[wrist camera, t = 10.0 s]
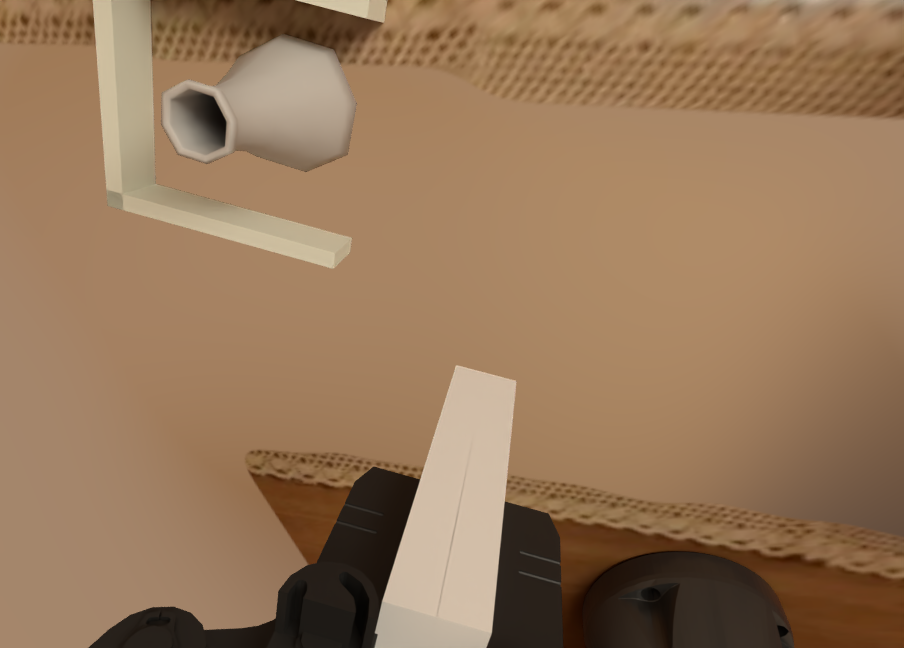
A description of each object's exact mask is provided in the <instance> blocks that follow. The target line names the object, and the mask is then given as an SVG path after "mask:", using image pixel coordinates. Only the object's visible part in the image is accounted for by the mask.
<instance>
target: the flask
mask: <svg viewBox="0 0 904 648" xmlns="http://www.w3.org/2000/svg"><path fill="white" fill-rule="evenodd" d="M356 104H357V103H356V101H355V99H354V96H353V94H352V91H351V89H350V87H349V84H348V82H347V80H346V77H345V74H344V72H343V70H342V67H341V65H340V63H339V60H338V58H337V55H336V53H335V51H334V49H331V48H328V47H324V46H321V45H318V44H315V43H312V42H308V41H305V40H302V39H299V38H295V37H292V36H289V35H286V34H282V35H280V36H278V37H276V38H274V39H272V40H270V41H268V42H266V43H264V44H262V45H260V46H258V47H256V48H254V49H252V50H250V51H248V52H246V53H244V54H242V55H241V56H239V58H238V59H237V60H236V61H235V63H234V64H233V65H232V67H231V68H230V70H229V71H228V73H227V74H226V75H225V76H224V77H223V78H222V79H221V80H220V82H218V84H217V85H216V86H209V85H206V84H202V83H199V82H196V81H193V80H185V81H183V82H181V83H179V84H178V85H176V86H174V87H172V88H170V89H168V90H166V91H164V92H162V105H161V106H162V107H161V108H162V109H161V125H162V127H163V129H164V131H165V133H166V134H167V136H168V138H169V140H170V142H171V143H172V145H173V147H174V149H175V151H176V152H177V154H178V155H180V156H183V157H186V158H190V159H193V160H196V161H199V162H203V163H206V164H208V163H211V162H214V161H216V160H218V159H220V158H222V157H225V156H227V155H229V154H231V153H234V152H235V151H247V152H249V153H251V154H253V155H255V156H257V157H260V158H263V159H266V160H270V161H273V162H276V163H279V164H282V165H285V166H289V167H292V168H295V169H298V170H301V171H305V172H307V171H309V170H312V169H314V168H317V167H319V166H322V165H324V164H326V163H329V162H331V161H334V160H336V159H338V158H341V157H343V156H346V155H348V149H349V144H350V139H351V133H352V127H353V121H354V116H355V110H356Z"/></svg>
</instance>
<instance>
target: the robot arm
mask: <svg viewBox="0 0 904 648" xmlns="http://www.w3.org/2000/svg"><path fill="white" fill-rule="evenodd" d="M515 390H516V381H514V380H511V379H507V378H503V377H499V376H496V375H492V374H488V373H484V372H480V371H477V370H473V369H469V368H465V367H462V366H458V365H456V368H455V371H454V374H453V377H452V380H451V384H450V387H449V390H448V393H447V396H446V400H445V403H444V406H443V409H442V413H441V416H440V419H439V422H438V425H437V428H436V431H435V435H434V438H433V441H432V444H431V447H430V451H429V454H428V457H427V460H426V463H425V466H424V470H423V473H422V476H421V479H416V478H413V477H409V476H405V475H402V474H398V473H395V472H391V471H387V470H384V469H380V468H377V467H373V468H371V469H370V470H369V471H368V472H366V473H365V474H364V475H363V476H361V477H360V478H359V479H358V480H356V481H355V483H354V485H353V487H352V489H351V491H350V494H349V496H348V498H347V500H346V502H345V505H344V506H343V508H342V510H341V512H340V515H339V517H338V519H337V522H336V524H335V525H334V527H333V529H332V531H331V534H330V536H329V538H328V540H327V542H326V544H325V546H324V548H323V550H322V553H321V555H320V557H319V559H318V561H317V563H315V564H311V565H307V566H305V567H304V568H302V569H300V570H299V571H297V572H296V573H294V574H292V575H291V576H290V577H289V578H288V579H287V581H286V582H285V583H284V585H283V586H282V587H281V588H280V590H279V592H278V603H277V612H276V619H274V620H272V621H270V622H267V623H265V624H262V625H259V626H254V627H248V628H239V629H216V630H204V629H203V625H202V624H201V623H200V622H199V621H198V620H197V619H196V618H195V617H194V616H193V615H192V614H191V613H190V612H187V611H184V610H181V609H178V608H176V607H153V608H149V609H146V610H143V611H141V612H138V613H135V614H132V615H130V616H128V617H127V618H125V619H124V620H122V621H121V622H119V623H118V624H116V625H115V626H113V627H112V628H110V629H109V630H108V631H107V632H106V633H104V634H103V635H102V636H101V637H100V638H99V639H98V640H97V641H96V642H94V643H93V644H92V645H91V646H90V647H89V648H563V626H562V593H561V587H560V584H561V566H560V561H561V560H560V537H559V535H558V532H557V530H556V528H555V526H554V524H553V522H552V520H551V518H550V515H549V514H548V513H544V512H541V511H537V510H533V509H530V508H526V507H523V506H519V505H515V504H512V503H508V502H505V492H506V482H507V472H508V461H509V450H510V441H511V431H512V421H513V410H514V400H515ZM582 618H583V632H584V641H585V646H586V648H794V640H793V635H792V631H791V627H790V624H789V622H788V620H787V617H786V615H785V613H784V610H783V608H782V606H781V603H780V601H779V599H778V597H777V595H776V594H775V592H774V591H773V589H772V588H771V587H770V586H769V585H768V584H767V583H766V582H765V581H764V580H763V579H762V578H761V577H760V576H758V575H757V574H755V573H754V572H752V571H751V570H749V569H747V568H746V567H744V566H742V565H739V564H737V563H735V562H732V561H730V560H727V559H724V558H720V557H717V556H712V555H708V554H701V553H693V552H664V553H656V554H650V555H646V556H641V557H638V558H635V559H632V560H629V561H626V562H624V563H622V564H620V565H618V566H616V567H614V568H612V569H611V570H609V571H608V572H606V573H605V574H604V575H602V576H601V577H600V578H599V579H598V580H597V581H596V582H595V583H594V584H593V585H592V587H591V588H590V590H589V591H588V593H587V595H586V597H585V600H584V604H583V610H582Z"/></svg>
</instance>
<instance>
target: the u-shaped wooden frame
mask: <svg viewBox="0 0 904 648" xmlns="http://www.w3.org/2000/svg"><path fill="white" fill-rule="evenodd" d="M297 1H301V2H305V3H309V4H312V5H316V6H320V7H324V8H328V9H332V10H335V11H339V12H343V13H347V14H351V15H355V16H359V17H362V18H366V19H370V20H374V21H378V22H382V23H384V19H385V13H386V6H387V1H386V0H297ZM93 11H94V24H95V38H96V52H97V66H98V80H99V92H100V106H101V120H102V121H101V122H102V135H103V149H104V163H105V177H106V190H107V205H108V206H110V207H113V208H117V209H121V210H124V211H127V212H131V213H135V214H139V215H142V216H146V217H149V218H153V219H156V220H160V221H163V222H167V223H170V224H174V225H178V226H181V227H185V228H188V229H192V230H195V231H199V232H203V233H207V234H210V235H214V236H217V237H221V238H224V239H228V240H231V241H235V242H239V243H242V244H246V245H250V246H253V247H257V248H260V249H264V250H267V251H271V252H274V253H278V254H282V255H285V256H289V257H293V258H296V259H300V260H303V261H307V262H310V263H314V264H317V265H321V266H325V267H328V268H332V269H333V268H335V267H336V266H337V265H338V264H339V263H340V262H341V261H342V260H343V259H344V258H345V257H346V256H347V255H348V254H349V253H350V248H351V242H352V238H350V237H347V236H343V235H340V234H335V233H332V232H329V231H325V230H322V229H318V228H314V227H311V226H307V225H303V224H299V223H296V222H292V221H289V220H285V219H281V218H278V217H274V216H271V215H267V214H263V213H260V212H256V211H252V210H249V209H245V208H242V207H238V206H234V205H231V204H227V203H224V202H220V201H216V200H212V199H209V198H205V197H202V196H198V195H195V194H191V193H188V192H183V191H180V190H177V189H173V188H169V187H165V186H162V185H158V184H156V181H155V180H156V176H155V145H154V143H155V142H154V107H153V72H152V38H151V3H150V0H93Z"/></svg>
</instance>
